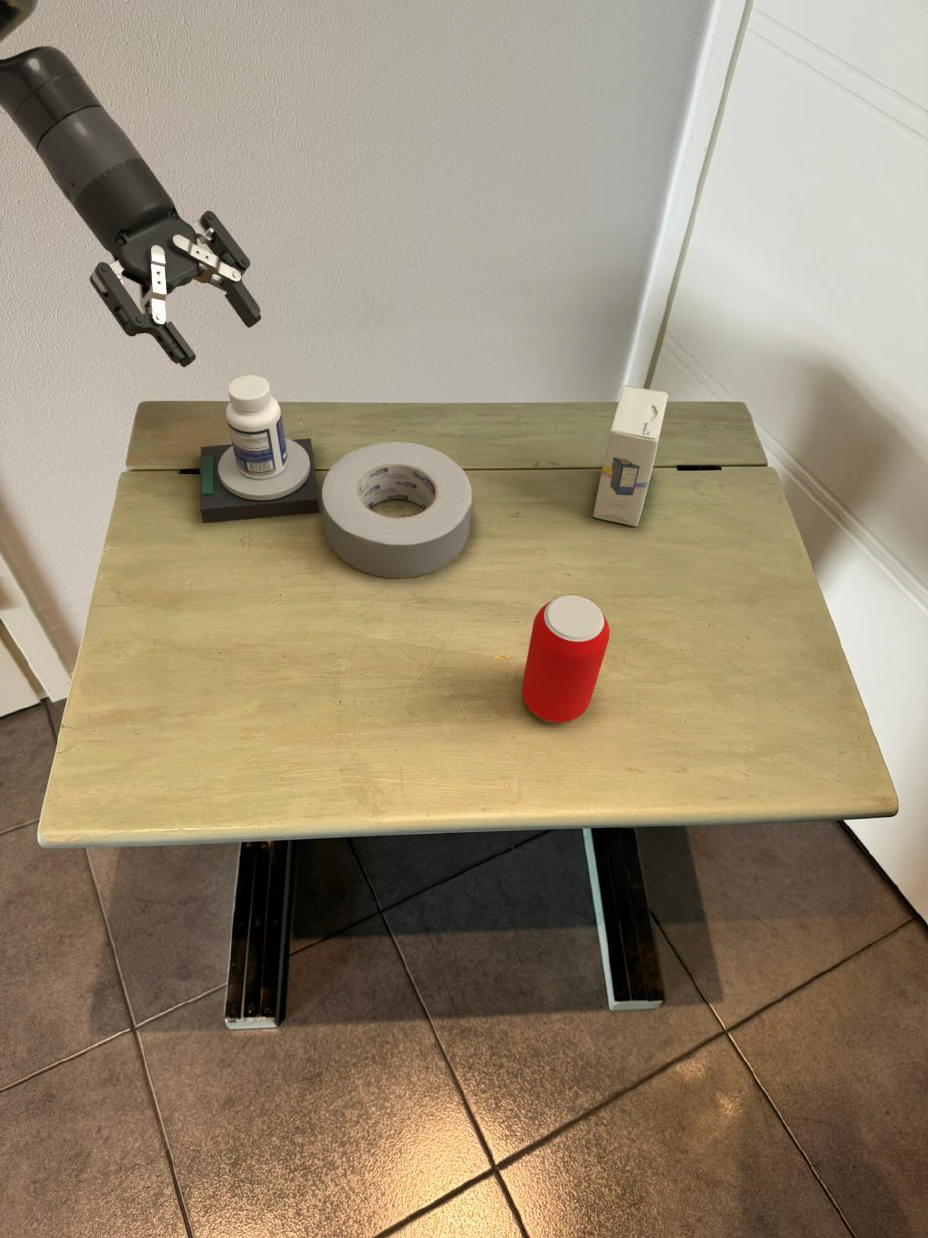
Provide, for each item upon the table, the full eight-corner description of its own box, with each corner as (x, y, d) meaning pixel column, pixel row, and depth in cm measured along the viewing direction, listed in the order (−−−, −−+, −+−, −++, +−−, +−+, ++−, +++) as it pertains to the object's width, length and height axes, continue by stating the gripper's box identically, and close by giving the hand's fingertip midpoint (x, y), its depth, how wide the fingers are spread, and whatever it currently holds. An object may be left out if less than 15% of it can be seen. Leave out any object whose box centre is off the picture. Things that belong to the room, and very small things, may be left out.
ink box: (636, 528, 90) (662, 441, 81) (589, 518, 90) (610, 430, 81) (647, 478, 95) (672, 391, 86) (603, 468, 96) (623, 381, 87)
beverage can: (530, 664, 78) (546, 578, 68) (595, 683, 77) (620, 598, 67) (512, 717, 74) (526, 633, 65) (580, 737, 73) (604, 656, 64)
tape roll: (497, 518, 90) (502, 482, 86) (409, 602, 82) (409, 568, 78) (387, 458, 95) (386, 422, 91) (293, 532, 87) (288, 496, 83)
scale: (203, 523, 87) (197, 501, 85) (204, 460, 93) (198, 439, 91) (319, 512, 89) (316, 491, 87) (312, 451, 95) (310, 430, 93)
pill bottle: (262, 440, 91) (248, 363, 84) (298, 461, 89) (288, 384, 82) (226, 466, 88) (208, 388, 81) (263, 487, 86) (249, 410, 79)
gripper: (50, 187, 67) (182, 363, 72) (182, 132, 75) (293, 295, 80) (30, 231, 73) (153, 391, 78) (155, 176, 81) (259, 325, 86)
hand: (224, 342), depth 79 cm, fingers open, 8 cm apart
